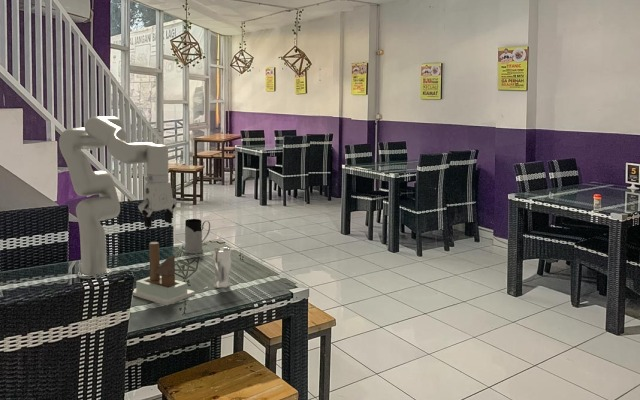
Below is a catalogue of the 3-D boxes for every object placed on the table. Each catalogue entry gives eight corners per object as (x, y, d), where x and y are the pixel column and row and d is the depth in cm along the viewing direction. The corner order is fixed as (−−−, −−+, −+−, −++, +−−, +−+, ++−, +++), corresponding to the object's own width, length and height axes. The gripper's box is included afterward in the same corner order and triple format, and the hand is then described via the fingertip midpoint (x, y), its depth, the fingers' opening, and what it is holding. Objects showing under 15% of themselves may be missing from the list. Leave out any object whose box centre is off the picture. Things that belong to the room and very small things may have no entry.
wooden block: (168, 295, 200) (167, 247, 197) (147, 289, 205) (146, 243, 202) (175, 292, 203) (174, 245, 200) (155, 286, 209) (154, 241, 205)
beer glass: (222, 281, 220) (223, 245, 217) (234, 286, 216) (234, 249, 213) (209, 286, 215) (209, 249, 212) (221, 290, 210) (221, 252, 208)
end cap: (128, 293, 204) (128, 281, 203) (157, 283, 215) (157, 272, 215) (166, 305, 194) (166, 292, 193) (194, 294, 205) (194, 282, 205)
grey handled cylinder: (180, 250, 263) (180, 220, 260) (204, 245, 274) (204, 216, 271) (191, 254, 257) (191, 223, 255) (215, 248, 268) (215, 219, 265)
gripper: (145, 182, 189) (146, 230, 192) (182, 177, 203) (182, 222, 206) (131, 180, 193) (132, 227, 196) (168, 175, 207) (168, 219, 210)
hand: (158, 224), depth 201 cm, fingers open, 9 cm apart
